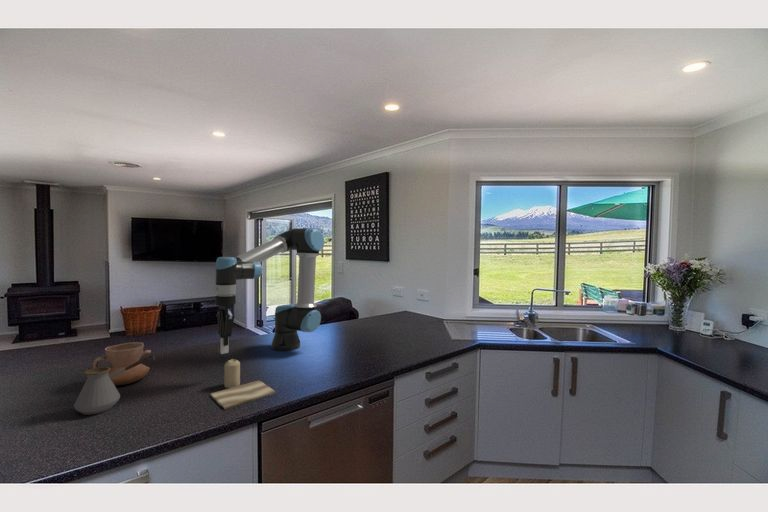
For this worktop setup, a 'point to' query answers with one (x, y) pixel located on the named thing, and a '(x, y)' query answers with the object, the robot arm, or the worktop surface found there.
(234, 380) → the candle
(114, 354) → the stacked tan cups
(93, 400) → the coffee pot
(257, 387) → the birch board
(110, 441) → the worktop surface
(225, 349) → the robot arm
